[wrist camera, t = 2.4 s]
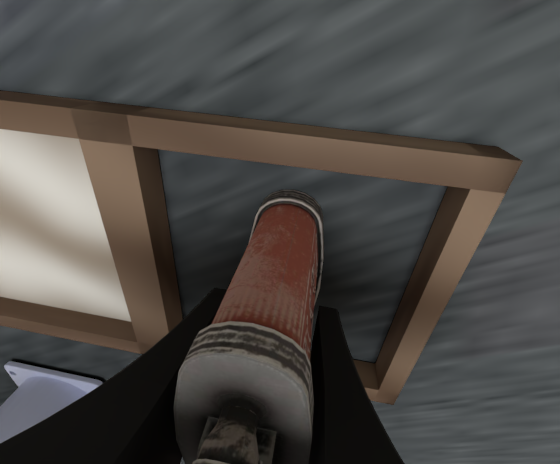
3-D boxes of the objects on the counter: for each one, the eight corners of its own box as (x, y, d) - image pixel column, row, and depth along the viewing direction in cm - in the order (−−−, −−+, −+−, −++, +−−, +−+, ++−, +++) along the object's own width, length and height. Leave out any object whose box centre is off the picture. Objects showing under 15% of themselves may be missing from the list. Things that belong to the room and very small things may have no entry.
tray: (388, 377, 16) (393, 404, 15) (-20, 298, 19) (-45, 316, 18) (497, 146, 10) (522, 161, 8) (-168, 71, 12) (-227, 73, 11)
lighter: (251, 183, 12) (30, 526, 3) (337, 195, 11) (338, 612, 3) (247, 321, 16) (147, 622, 7) (309, 333, 16) (277, 661, 7)
